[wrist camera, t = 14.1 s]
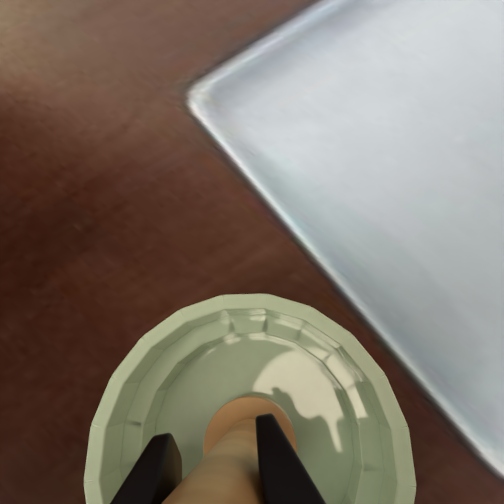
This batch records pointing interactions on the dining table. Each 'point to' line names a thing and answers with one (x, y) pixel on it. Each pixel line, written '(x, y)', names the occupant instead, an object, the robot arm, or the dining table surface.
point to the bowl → (259, 383)
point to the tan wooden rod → (231, 455)
